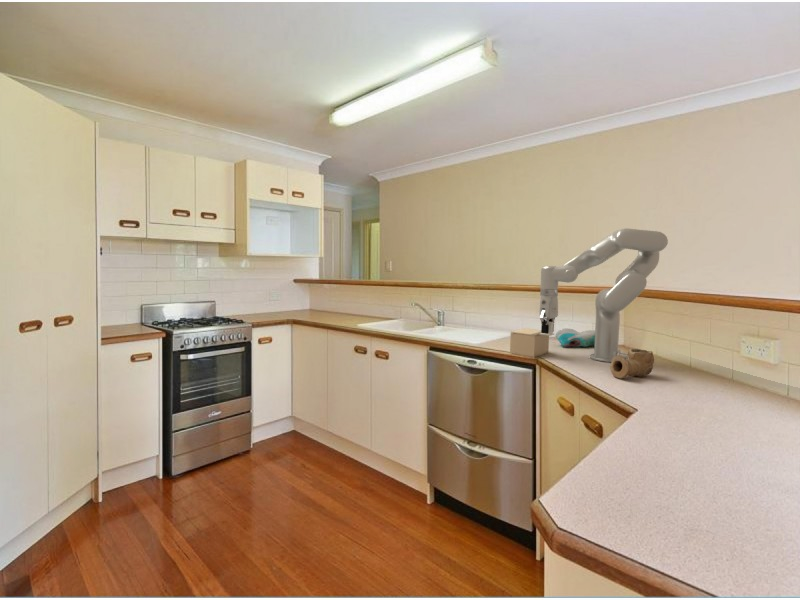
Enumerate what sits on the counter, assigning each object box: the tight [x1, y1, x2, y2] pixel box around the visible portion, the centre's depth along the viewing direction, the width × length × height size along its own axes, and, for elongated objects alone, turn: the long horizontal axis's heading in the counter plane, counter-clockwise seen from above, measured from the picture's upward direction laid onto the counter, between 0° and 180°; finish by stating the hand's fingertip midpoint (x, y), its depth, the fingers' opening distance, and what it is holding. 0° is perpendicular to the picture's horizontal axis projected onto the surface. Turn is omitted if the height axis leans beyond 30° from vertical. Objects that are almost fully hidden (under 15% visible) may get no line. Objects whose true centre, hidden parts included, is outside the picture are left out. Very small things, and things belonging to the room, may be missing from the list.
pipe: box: [609, 348, 655, 379], centre depth 155 cm, size 9×16×10 cm, turn 111°
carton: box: [509, 332, 550, 358], centre depth 195 cm, size 12×15×10 cm
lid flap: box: [510, 322, 555, 337], centre depth 192 cm, size 17×15×6 cm
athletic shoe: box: [555, 328, 595, 348], centre depth 211 cm, size 26×9×12 cm
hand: (547, 332), depth 188 cm, fingers open, 4 cm apart
